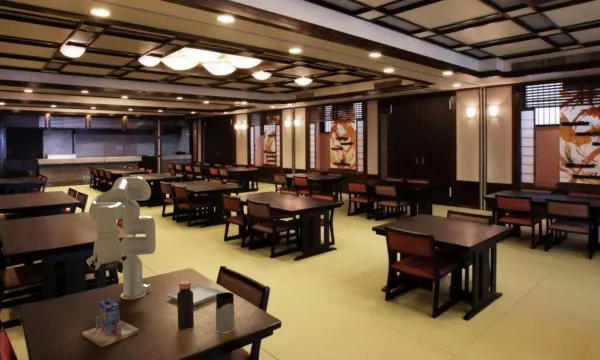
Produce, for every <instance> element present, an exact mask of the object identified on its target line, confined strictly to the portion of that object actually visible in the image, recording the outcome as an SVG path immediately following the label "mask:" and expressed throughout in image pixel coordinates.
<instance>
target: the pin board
mask: <svg viewBox="0 0 600 360" xmlns="http://www.w3.org/2000/svg"><path fill="white" fill-rule="evenodd" d="M139 333H140V330H139V328H137V327H135V326H133V325H131V324H130V323H127V322H126V321H123V320H121V319H120V323H117V334H113V335H110V336H107V335H106V334H105V333H104V331H103V330H102V329H101V322H100V315H96V316H95V327H93V328H91V329H88V330H85V331H82V336H83V337H84V338H86V339H88V340H89V341H91V342H92V343H94V344H95V345H97V346H99V347H100V348H103V347H106V346H108V345H111V344H113V343H116V342H118V341H121V340H125V339H126V338H128V337H129V338H130V337H131V336H134V335H136V334H139Z"/></svg>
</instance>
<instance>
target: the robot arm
mask: <svg viewBox="0 0 600 360" xmlns="http://www.w3.org/2000/svg"><path fill="white" fill-rule="evenodd" d="M151 195H152V190H151V187H150V185H149V183H148V181H147V180H146V179H145V178H144V177H142V176H122V177H121V176H120V177H119V178H117V179H115V181H114V183H113V185H112V187H111V188H110V190H108V191H105V192H103V193H100V194H98V195H97V196H95V198H93V200H92V202H91V203H90V206H89V209H88V215H89V217H90V219H92V220H94V221H96V239H94V244H93V251H92V252H93V255H91V256H90V257H88V258H87V259H86V260H85V261H86V263H87V265H88V267H90V268H91V269H93V277H94V279H97V280H100V279H101V275H100V274H101V270H100V266H101V265H104V264H107V263H113V262H117V263H116V270H117V273H119V274H122V280H123V281H122V285H123V286H122V287H123V292H121V294H120V298H121V299H122V300H127V301H129V300H139V299H141V298H144V297H145V296H146V295H147V291H146V290H147V289H151V288H152V285H151V284H143V283H144V282H143V279H144V278H143V262H142V260H141V258H140V257H139V256H140V255H141V256H144V255H153V254H154V253H155V252H156V247H157V243H156V241H157V240H156V238H157V237H156V222H155V218H154V217H153V216H151V215H141V207H140V204H139V203H138V202H137V201H148V200H150V197H151ZM119 220H122V230H123V233H125V235H145V236H128V237H127V236H126V237H125V238H122V240H120V238H119V237H120V236H118V235H119V234H121V231H120V230H119V229H118V222H117V221H119ZM93 262H94V263H93Z"/></svg>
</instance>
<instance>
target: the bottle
mask: <svg viewBox="0 0 600 360" xmlns="http://www.w3.org/2000/svg"><path fill="white" fill-rule="evenodd" d="M178 286H179V287H178V288H179V289H178V290H180V291H179V292H178V294H177V300H176V302H177V328H178V329H180V330H184V329H185V330H189V328H190V329H192V328H193V327H194V325H195V322H194V321H195V320H194V319H195V318H194V317H195V315H194V313H195V312H194V305H193V292H192V291H191V290H190V288H191V286H192V282H191V281H190V280H182V281H180V282H178Z"/></svg>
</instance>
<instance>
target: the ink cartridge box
mask: <svg viewBox="0 0 600 360" xmlns="http://www.w3.org/2000/svg"><path fill="white" fill-rule="evenodd" d="M98 304H99V305H98V307H99V316H100V326H101V329H102V330H103V331H104V333H105V334H106V335H107V336H110V335H113V334H117V323H120V320H121V317H120V307H119V303H117V302H116V301H115V300H114V299H113V298H109V299H106V297H103V300H99V303H98Z"/></svg>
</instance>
